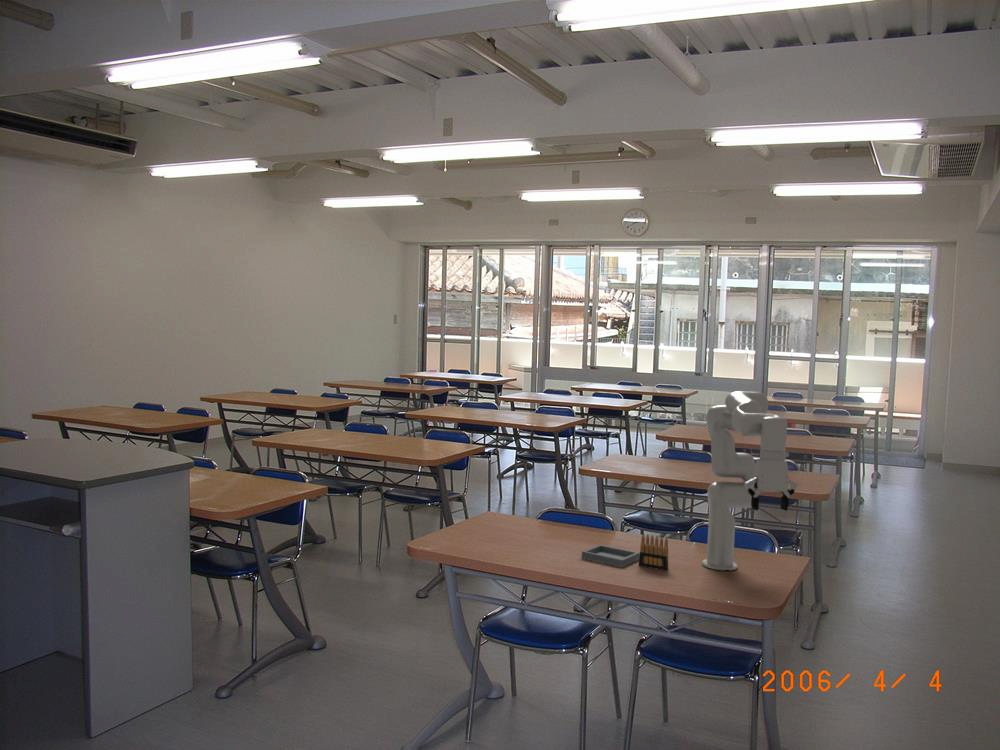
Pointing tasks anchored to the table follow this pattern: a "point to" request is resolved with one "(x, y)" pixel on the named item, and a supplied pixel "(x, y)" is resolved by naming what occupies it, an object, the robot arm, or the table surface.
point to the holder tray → (610, 555)
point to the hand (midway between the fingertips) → (769, 509)
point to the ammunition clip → (653, 553)
